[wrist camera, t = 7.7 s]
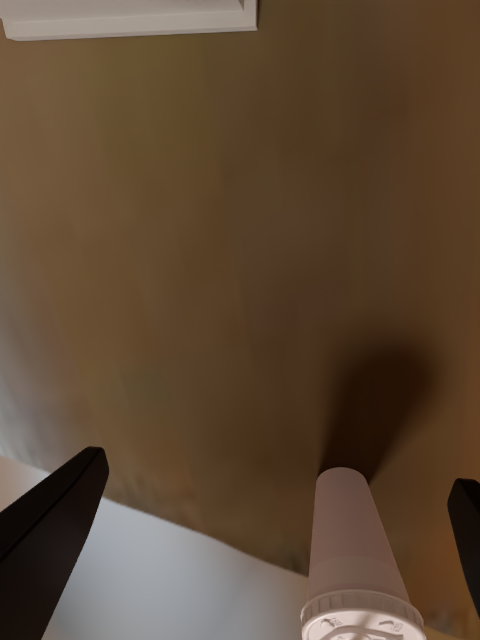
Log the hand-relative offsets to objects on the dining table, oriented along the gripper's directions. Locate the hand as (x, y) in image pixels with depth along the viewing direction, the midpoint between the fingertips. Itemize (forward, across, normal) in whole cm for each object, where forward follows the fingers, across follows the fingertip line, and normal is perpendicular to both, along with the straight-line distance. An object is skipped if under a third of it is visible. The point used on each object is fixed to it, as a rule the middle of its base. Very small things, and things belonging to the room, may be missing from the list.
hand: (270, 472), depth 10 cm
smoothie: (+13, -5, +16) cm, 21 cm away
